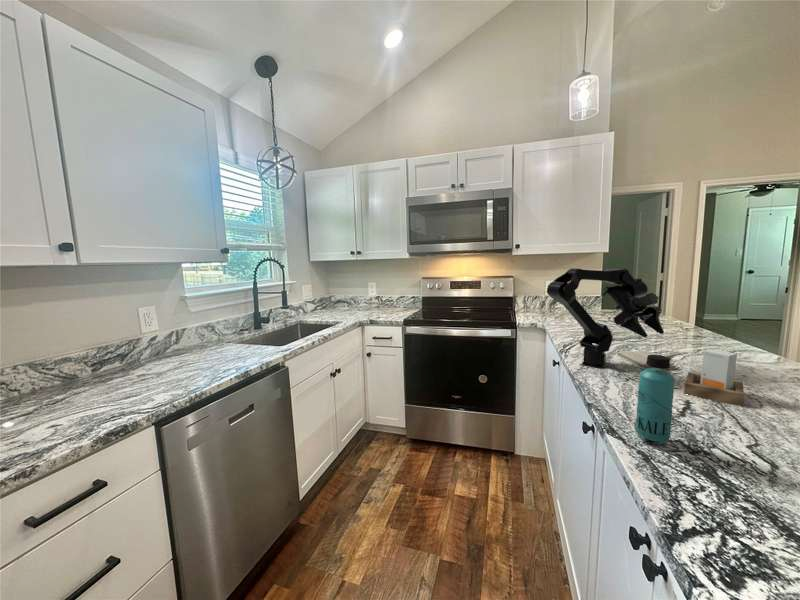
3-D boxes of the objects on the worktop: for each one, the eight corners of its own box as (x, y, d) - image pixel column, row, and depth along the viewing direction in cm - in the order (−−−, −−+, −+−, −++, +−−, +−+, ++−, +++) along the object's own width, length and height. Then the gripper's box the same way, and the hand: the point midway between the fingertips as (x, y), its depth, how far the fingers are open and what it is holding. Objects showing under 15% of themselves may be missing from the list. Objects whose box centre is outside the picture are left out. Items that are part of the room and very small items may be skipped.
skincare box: (699, 388, 97) (702, 350, 96) (706, 386, 99) (710, 348, 97) (725, 396, 92) (729, 355, 90) (733, 393, 94) (737, 353, 92)
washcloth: (644, 371, 116) (644, 363, 116) (615, 356, 134) (615, 349, 134) (679, 371, 115) (680, 363, 115) (645, 356, 133) (646, 348, 133)
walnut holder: (684, 394, 96) (685, 383, 96) (687, 382, 105) (688, 372, 104) (742, 406, 88) (744, 394, 87) (741, 392, 96) (742, 381, 96)
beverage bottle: (653, 432, 77) (660, 351, 74) (678, 448, 71) (686, 360, 68) (627, 433, 77) (632, 352, 74) (649, 450, 70) (656, 361, 68)
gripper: (624, 287, 111) (657, 325, 103) (657, 284, 118) (691, 318, 110) (601, 307, 119) (630, 343, 111) (633, 302, 127) (663, 336, 118)
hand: (654, 335), depth 112 cm, fingers open, 9 cm apart
